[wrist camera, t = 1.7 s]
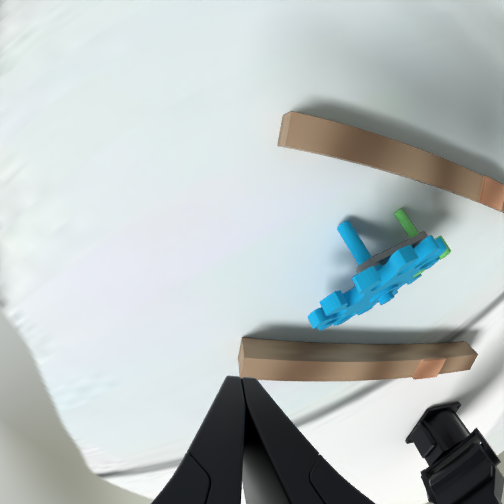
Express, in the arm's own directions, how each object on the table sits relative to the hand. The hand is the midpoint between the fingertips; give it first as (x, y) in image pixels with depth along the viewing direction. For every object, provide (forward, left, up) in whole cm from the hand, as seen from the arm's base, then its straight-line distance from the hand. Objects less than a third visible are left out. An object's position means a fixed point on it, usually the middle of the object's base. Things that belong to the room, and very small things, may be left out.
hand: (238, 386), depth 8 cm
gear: (-10, 0, -13) cm, 17 cm away
